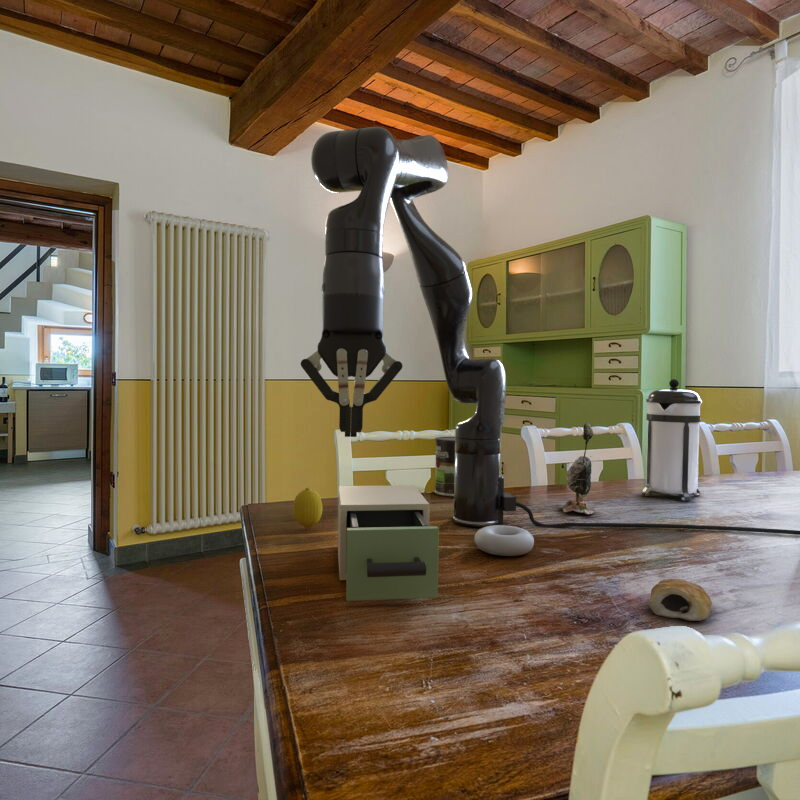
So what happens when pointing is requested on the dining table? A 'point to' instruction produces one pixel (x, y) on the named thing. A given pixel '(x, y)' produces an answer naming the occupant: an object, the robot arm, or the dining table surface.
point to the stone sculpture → (580, 479)
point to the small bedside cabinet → (373, 508)
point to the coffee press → (673, 442)
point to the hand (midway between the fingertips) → (350, 436)
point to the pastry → (680, 600)
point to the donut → (504, 540)
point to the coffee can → (445, 466)
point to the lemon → (307, 508)
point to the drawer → (391, 556)
